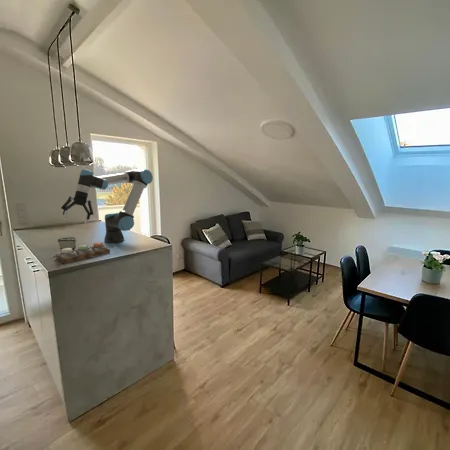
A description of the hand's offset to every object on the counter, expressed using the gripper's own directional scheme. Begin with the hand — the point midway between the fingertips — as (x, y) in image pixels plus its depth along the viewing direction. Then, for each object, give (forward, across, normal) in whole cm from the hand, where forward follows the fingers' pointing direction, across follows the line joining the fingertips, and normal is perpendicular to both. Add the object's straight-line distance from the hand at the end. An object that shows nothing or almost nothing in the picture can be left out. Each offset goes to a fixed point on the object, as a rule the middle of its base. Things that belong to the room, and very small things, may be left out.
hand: (74, 222), depth 179 cm
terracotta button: (+14, +17, +6) cm, 22 cm away
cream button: (+20, +3, -7) cm, 22 cm away
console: (+21, +11, +1) cm, 24 cm away
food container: (+21, -4, +14) cm, 26 cm away
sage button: (+17, +10, 0) cm, 20 cm away
